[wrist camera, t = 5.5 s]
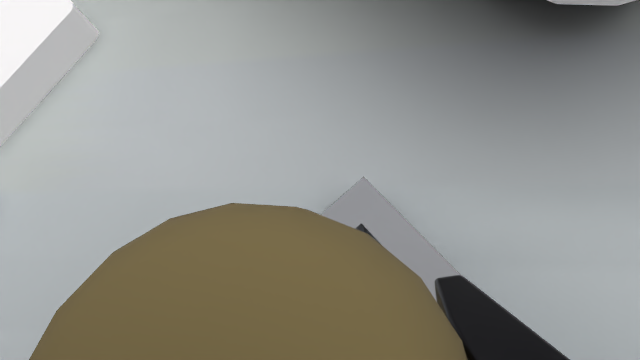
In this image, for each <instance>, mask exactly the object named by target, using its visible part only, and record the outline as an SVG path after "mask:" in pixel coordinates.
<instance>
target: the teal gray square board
mask: <svg viewBox="0 0 640 360" xmlns="http://www.w3.org/2000/svg"><path fill="white" fill-rule="evenodd" d="M321 215H322V216H324V217H327V218H329V219H332V220H334V221H337V222H339V223H342V224H345V225H347V226H350V227H352V228H355V229H357V230H360V231H362V232H365V233H367V234H369V235H370V236H371V237H372V238H373V239H375V240H376V241H377V242H378V243H380V244H381V245H382V246H383V247H384V248H386V249H387V250H388V251H389V252H390V253H392V254H393V255H394V256H395V257H396V258H398V259H399V260H400V261H401V262H403V263H404V264H405V265H406V266H407V267H409V268H410V269H411V270H412V271H413V272H415V273H416V274H417V275H418V276H419V277H421V279H422V280H423V282H424V283H425V285H426V286H427V288H428V289H429V291H430V292H431V294H432V296H433V297H434V299H435V300H436V302H437V299H436V292H435V280H436V279H437V278H440V277H447V276H454V275H461V274H460V273H459V272H458V271H457V270H456V269H455V268H454V267H453V266H452V265H451V264H450V263H449V262H448V261H447V260H446V259H445V258H444V257H443V256H442V255H441V254H440V253H439V252H438V251H437V250H436V249H435V248H434V247H433V246H432V245H431V244H430V243H429V242H428V241H427V240H426V239H425V238H424V237H423V236H422V235H421V234H420V233H419V232H418V231H417V230H416V229H415V228H414V227H413V226H412V225H411V224H410V223H409V222H408V221H407V220H406V219H405V218H404V217H403V216H402V215H401V214H400V213H399V212H398V211H397V210H396V209H395V208H394V207H393V206H392V205H391V204H390V203H389V202H388V201H387V199H386V198H385V197H384V196H383V195H382V194H381V193H380V192H379V191H378V190H377V189H376V188H375V187H374V186H373V185H372V184H371V183H370V182H369V181H368V180H367V179H366V178H365V177H363V178H361V179H360V180H359V181H358V182H357V183H356V184H355V185H354V186H352V187H351V188H350V189H349V190H348V191H347V192H346V193H344V194H343V195H342V196H341V197H340V198H339V199H338V200H336V201H335V202H334V203H333V204H332V205H331V206H330V207H329V208H327V209H326V210H325V211H324V212H323V213H322V214H321ZM461 276H462V275H461Z"/></svg>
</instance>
